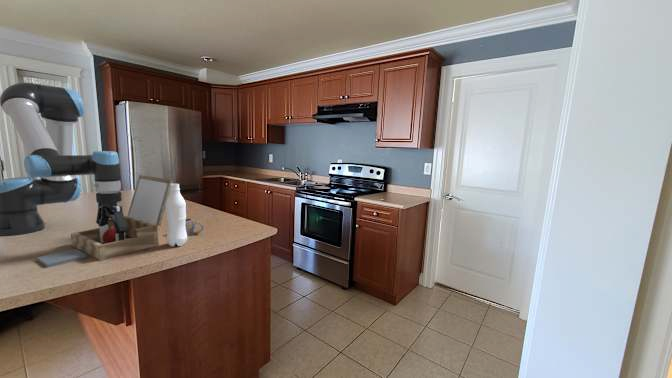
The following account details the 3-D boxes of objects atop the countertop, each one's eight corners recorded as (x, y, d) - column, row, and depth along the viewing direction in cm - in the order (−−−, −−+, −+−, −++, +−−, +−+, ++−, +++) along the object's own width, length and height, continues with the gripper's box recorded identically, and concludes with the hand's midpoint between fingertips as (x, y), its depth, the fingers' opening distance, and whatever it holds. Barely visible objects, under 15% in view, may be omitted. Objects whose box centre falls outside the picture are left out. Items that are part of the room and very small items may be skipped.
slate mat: (37, 260, 93) (36, 257, 93) (75, 251, 102) (75, 248, 102) (47, 267, 88) (47, 264, 88) (87, 257, 97) (86, 254, 97)
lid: (139, 175, 125) (142, 175, 126) (127, 216, 123) (130, 216, 124) (170, 179, 113) (173, 180, 114) (158, 225, 110) (161, 226, 111)
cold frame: (72, 245, 107) (70, 225, 106) (128, 233, 124) (126, 216, 123) (100, 260, 95) (98, 238, 94) (158, 244, 111) (157, 225, 110)
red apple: (111, 249, 105) (110, 229, 104) (99, 247, 106) (97, 227, 105) (126, 244, 111) (124, 225, 110) (114, 242, 112) (112, 223, 111)
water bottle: (191, 243, 115) (189, 183, 111) (176, 248, 108) (173, 185, 104) (178, 240, 117) (175, 182, 113) (163, 246, 110) (159, 184, 107)
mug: (173, 235, 123) (172, 221, 122) (182, 231, 130) (181, 217, 129) (199, 237, 123) (198, 222, 122) (207, 232, 130) (206, 218, 129)
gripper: (82, 189, 108) (87, 241, 111) (112, 197, 96) (116, 255, 99) (105, 187, 115) (109, 236, 118) (136, 194, 102) (139, 248, 106)
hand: (113, 245), depth 108 cm, fingers open, 13 cm apart
